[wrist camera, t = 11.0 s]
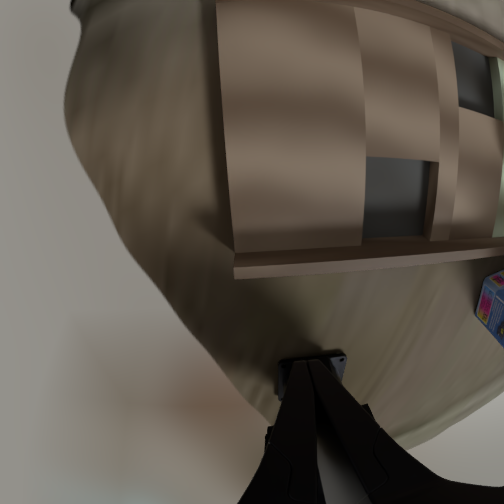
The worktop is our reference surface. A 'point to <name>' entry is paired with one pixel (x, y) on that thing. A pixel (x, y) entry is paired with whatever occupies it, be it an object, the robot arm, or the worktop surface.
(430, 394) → the worktop surface
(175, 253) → the worktop surface
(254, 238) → the trap box
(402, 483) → the robot arm
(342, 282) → the worktop surface
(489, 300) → the ink cartridge box
